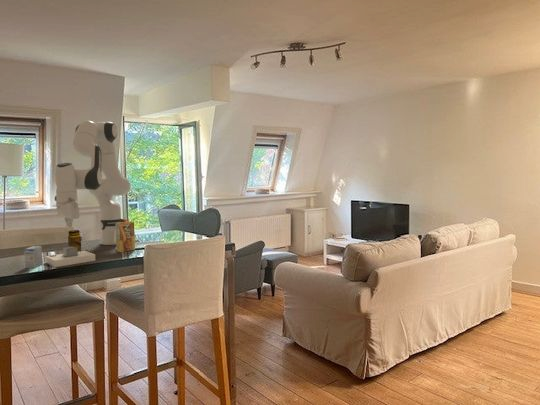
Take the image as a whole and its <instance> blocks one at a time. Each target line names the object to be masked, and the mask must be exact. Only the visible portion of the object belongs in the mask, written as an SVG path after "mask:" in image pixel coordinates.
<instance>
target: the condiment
mask: <svg viewBox="0 0 540 405" xmlns="http://www.w3.org/2000/svg"><path fill="white" fill-rule="evenodd" d="M81 238H82V236H81V233H80V230H78V229H74V230H73V229H71V230H69V231H68V236H67V242H68V245H67V246H68V247H76V248H77V251H78V252H79V251H82V239H81Z"/></svg>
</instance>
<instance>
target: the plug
mask: <svg viewBox="0 0 540 405" xmlns="http://www.w3.org/2000/svg"><path fill="white" fill-rule="evenodd" d="M62 254H63V257H72V256H78V251H77V248H76V247H69V246H67V247H66V246H65V247H63V248H62Z"/></svg>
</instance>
